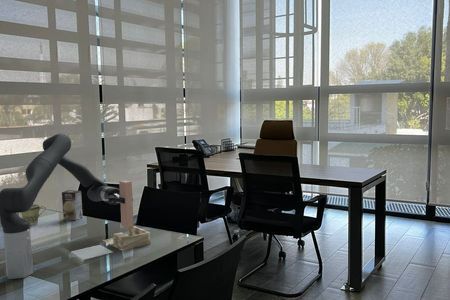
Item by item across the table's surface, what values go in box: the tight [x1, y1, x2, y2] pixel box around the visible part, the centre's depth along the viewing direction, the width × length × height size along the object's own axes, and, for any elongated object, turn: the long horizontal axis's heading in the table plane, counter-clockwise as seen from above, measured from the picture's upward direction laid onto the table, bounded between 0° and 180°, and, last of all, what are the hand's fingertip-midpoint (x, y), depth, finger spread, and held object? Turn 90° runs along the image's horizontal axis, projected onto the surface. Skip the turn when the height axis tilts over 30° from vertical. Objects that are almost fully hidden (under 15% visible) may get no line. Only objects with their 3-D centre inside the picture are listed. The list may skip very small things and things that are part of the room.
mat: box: [70, 244, 113, 264], centre depth 183 cm, size 14×13×2 cm
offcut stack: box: [112, 232, 128, 248], centre depth 191 cm, size 8×4×4 cm, turn 39°
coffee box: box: [61, 189, 83, 221], centre depth 248 cm, size 9×6×16 cm
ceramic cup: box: [20, 203, 46, 226], centre depth 240 cm, size 13×10×10 cm
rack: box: [102, 225, 151, 251], centre depth 196 cm, size 20×14×6 cm
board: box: [118, 179, 135, 229], centre depth 190 cm, size 6×3×20 cm, turn 39°
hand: (128, 200), depth 189 cm, fingers closed on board, 3 cm apart
